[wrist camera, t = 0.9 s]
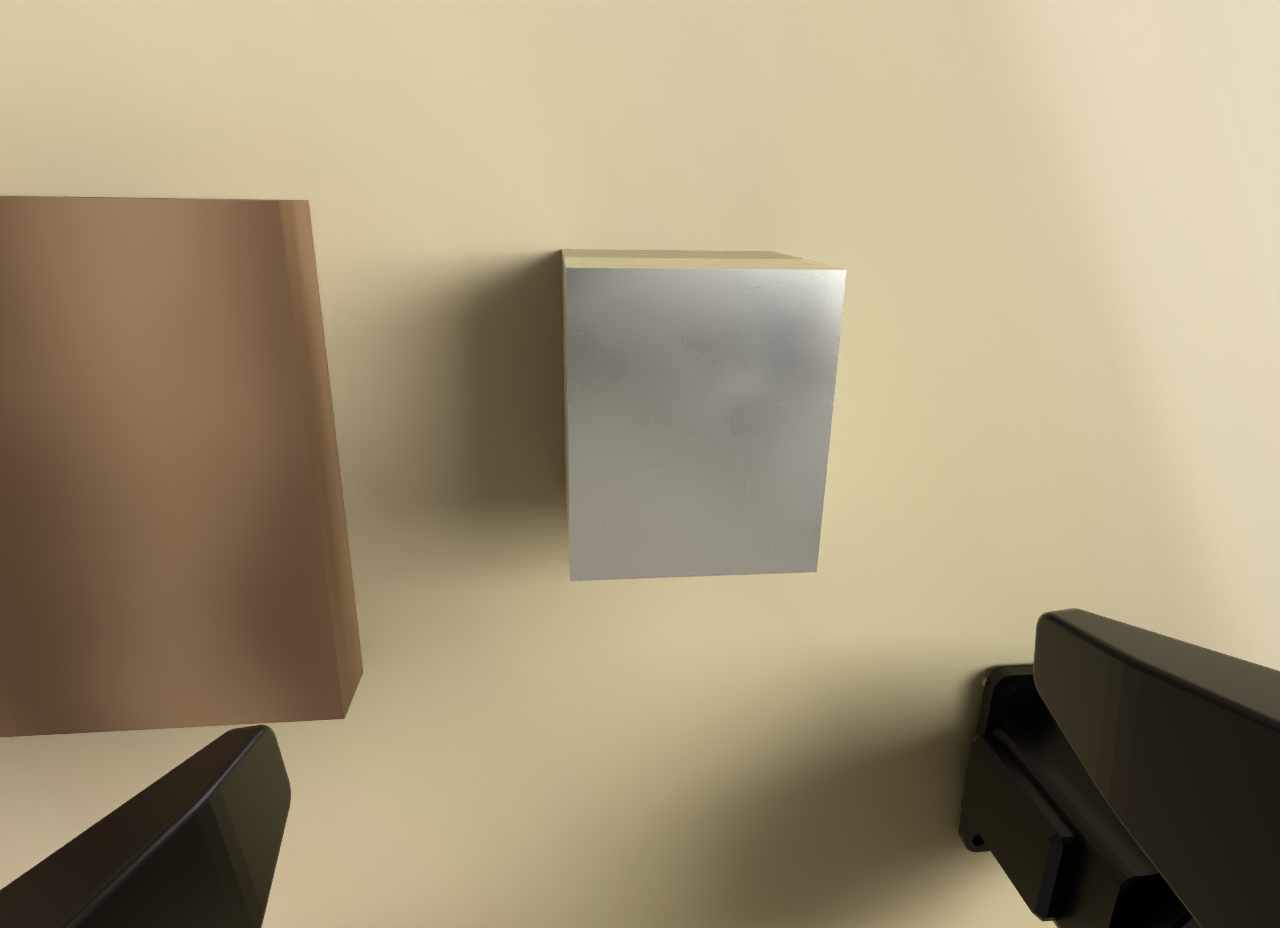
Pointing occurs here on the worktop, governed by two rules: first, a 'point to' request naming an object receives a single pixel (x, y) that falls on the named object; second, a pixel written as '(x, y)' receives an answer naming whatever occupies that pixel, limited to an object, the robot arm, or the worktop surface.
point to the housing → (696, 410)
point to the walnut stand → (167, 470)
